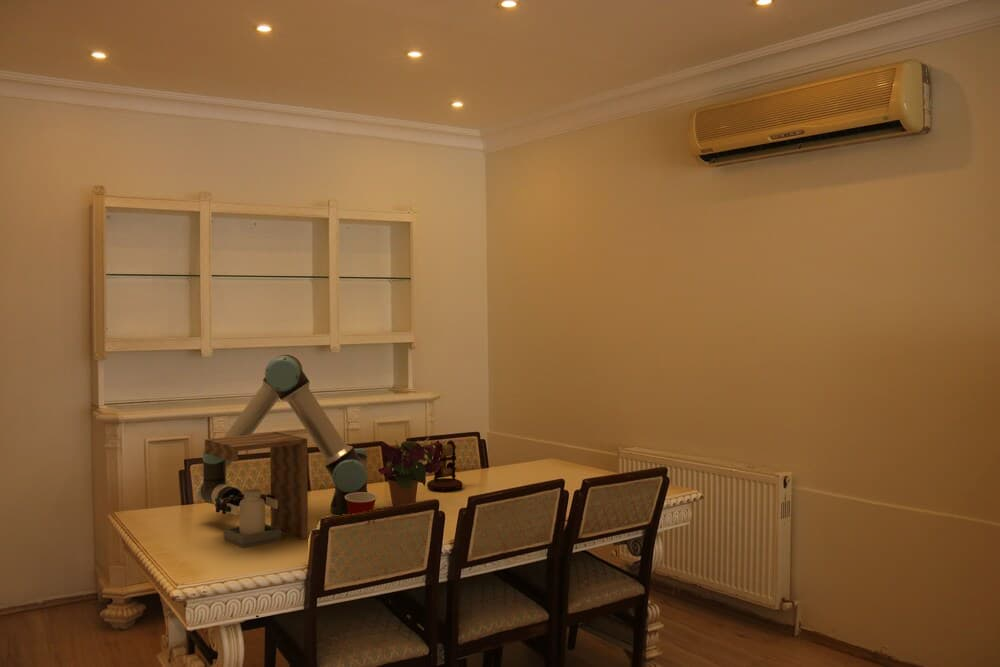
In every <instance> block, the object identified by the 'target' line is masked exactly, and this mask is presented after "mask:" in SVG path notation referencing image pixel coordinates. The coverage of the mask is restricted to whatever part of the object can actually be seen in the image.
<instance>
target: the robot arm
mask: <svg viewBox="0 0 1000 667" xmlns="http://www.w3.org/2000/svg"><path fill="white" fill-rule="evenodd" d="M279 399H280V400H281V401H283V402H286V403H288V404H289V407H290V408H291V410H293V412H294V414H295V415H296V416H297V418H298V420H299V421H300V423H301V425H303V427H304V429H305V430H306V432H307V433H308V435H309V437H310V438H311V439H312V442H314V444H315V445H316V447H317V448H318V450H319V451H320V453H321V455H322V456H323V457H324V459H325V460H324V464H323V465H324V467H325V469H326V470H327V472H328V473H329V475H330V476H331V478H332V482H333V485H334V492H333V496H332V499H331V502H330V508H329V509H330V513H331V514H333V515H336V516H337V515H338V516H341V515H340V514H348V513H349V511H348V506H347V502H346V499H345V496H346V495H347V494H350V493H356V492H367V493H369V492H368V462H367V461H368V460H367V459H368V455H367V450H366V449H365V448H354V447H353V446H352V445H348V444H346V443H345V441H344V440H343V438H342V436H341V434H340V433H339V432H338V431H337V429H336V428H335V427H336V426H334V424H333V423H332V421H331V420H330V419H329V416H328V415H327V414H326V412H325V411H324V409H323V407H322V406H321V405H320V402H318V400H317V399H316V397H315V396H314V394H313V392H312V391H311V390H310V380H309V378H308V377H307V375H306V373H305V372H304V371H303V366H302V363H301V362H300V360H299V359H298V358H297V357H295V356H293V355H289V354H282V355H279V356H276V357H274V358H272V360H270V361H269V362H268V363H267V364H266V367H265V371H264V378H263V379H262V386H261V387H260V388H259V389H258V391H257V392H256V393H255V394H254V396H252V399H251V400H250V401H249V402H248V404H247V405H246V407H245V408H244V410H242V412H241V413H240V415H238V417H237V419H236V420H235V421H234V423H233V424H232V425H231V427H230V428H228V430H227V432H226V433H225V435H224V436H223V437H222V438H224V437H233V436H243V435H252V434H254V432H255V431H256V430H257V429H258V427H259V425H260V424H261V423H262V421H263V420H264V419H265V418H266V416H267V415H268V414H269V413H270V411H271V410H272V408H273V407H274V406H275V404H276V403H277V402H278V400H279ZM239 452H240V451H238V453H239ZM232 462H233V461H231V460H227V459H223V458H220V457H216V456H212V455H209V454H205V448H204V449H203V452H202V465H203V466H202V467H203V468H202V472H203V474H202V475H203V476H202V477H203V479H202V483H201V484H200V486H199V488H198V496H199V498H200V499H202V501H204V502H206V503H208V504H211V505H214V507H215V513H220V512H221V515H225V514H227V513H228V514H231V515H234V516H238V515H239V504H240V501H241V500H242V499H244V493H242V491H241V490H240V489H239V488H237V487H234V486H231V485H229V484H227V468H228V467H230V465H231V463H232ZM260 498H262V499H264V501H265V507H269V508H271V507H272V508H275V509H277V508H278V501H277V500H276V499H274V495H271V493H269V494H262V493H261V496H260Z"/></svg>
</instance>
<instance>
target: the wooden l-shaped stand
mask: <svg viewBox="0 0 1000 667" xmlns="http://www.w3.org/2000/svg"><path fill="white" fill-rule="evenodd" d="M223 437H224V436H223ZM223 437H216V438H215V437H214V438H205V439H204V449H205V454H209V455H212V456H216V457H220V458H223V459H227V460H231V461H232V462H234V463H235V462H239V452H241V451H242V452H243V451H252V450H259V449H260V450H261V449H267V448H268V449H270V451H269V453H270V455H269V456H270V457H269V459H270V465H269V466H270V495H274V499H276V500H277V501H278V508H277V509H275V508H272V507H270V526H273V527H276V528H278V529H281V533H283V534H284V533H285V534H286V535H290V536H292V537H295V538H297V539H300V540H306V539H309V528H308V527H309V520H308V519H309V518H308V517H309V513H308V512H309V511H308V510H309V508H308V506H309V504H308V503H309V501H308V500H309V499H308V498H309V497H308V483H309V482H308V479H309V478H308V438H306V437H302V436H297V435H292V434H286V433H281V432H277V431H275V432H274V431H273V432H264V433H252V435H243V436H233V437H224V438H223ZM238 451H239V452H238Z"/></svg>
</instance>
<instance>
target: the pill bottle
mask: <svg viewBox="0 0 1000 667" xmlns="http://www.w3.org/2000/svg"><path fill="white" fill-rule="evenodd" d="M243 494H244V499H242V500H241V501H240V504H239V507H238V515H239V522H238V523H239V526H240V534H242V535H249V534H255V533H260V532H265V524H266V504H265V501H264V499H262V498H260V496H261V494H262V490H261V489H258V488H251V489H244V491H243Z"/></svg>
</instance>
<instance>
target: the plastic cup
mask: <svg viewBox="0 0 1000 667" xmlns="http://www.w3.org/2000/svg"><path fill="white" fill-rule="evenodd" d="M345 499H346V502H347V506H348V511H349V514H352V513H358V512H363V511H369V510H373V511H374V507H375V503H376V500H377V499H378V495H376V494H375V493H372V492H368V493H367V492H356V493H350V494H347V495H346V496H345Z"/></svg>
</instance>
